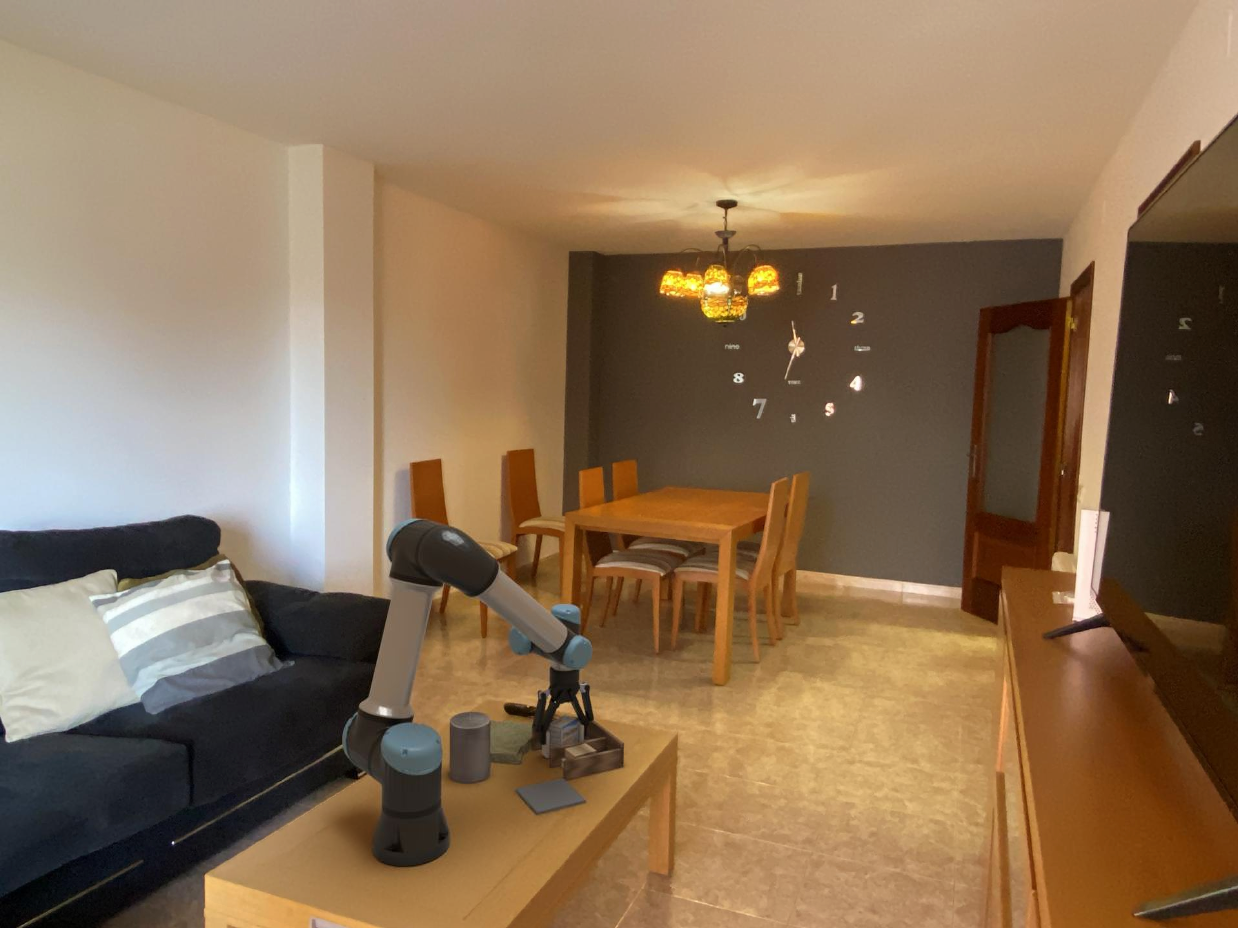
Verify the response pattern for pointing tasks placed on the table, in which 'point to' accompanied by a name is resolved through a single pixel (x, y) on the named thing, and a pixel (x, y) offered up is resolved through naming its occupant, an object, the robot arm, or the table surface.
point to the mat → (550, 796)
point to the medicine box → (563, 731)
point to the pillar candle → (469, 747)
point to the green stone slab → (509, 741)
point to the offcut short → (578, 751)
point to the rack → (603, 760)
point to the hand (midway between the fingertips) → (562, 752)
